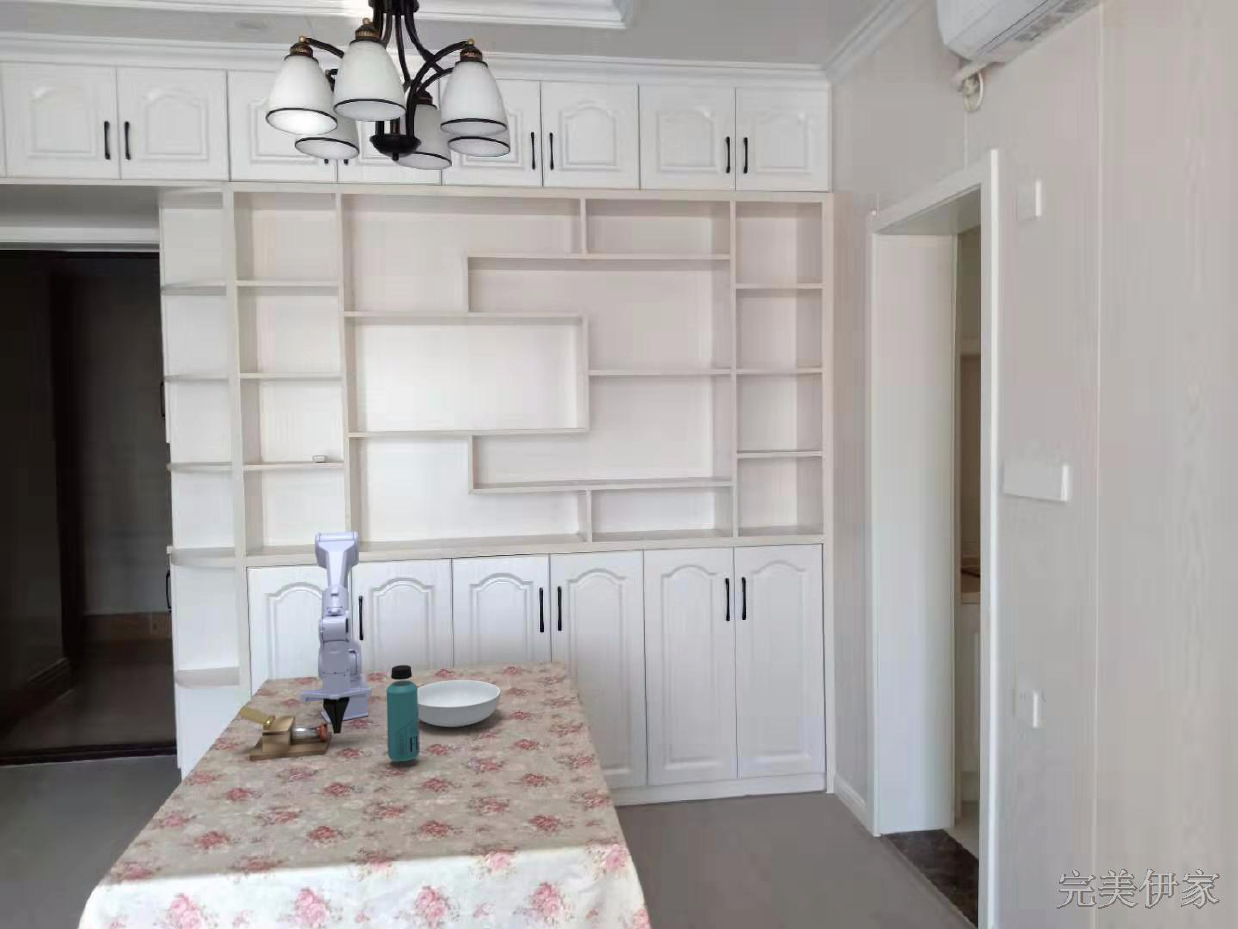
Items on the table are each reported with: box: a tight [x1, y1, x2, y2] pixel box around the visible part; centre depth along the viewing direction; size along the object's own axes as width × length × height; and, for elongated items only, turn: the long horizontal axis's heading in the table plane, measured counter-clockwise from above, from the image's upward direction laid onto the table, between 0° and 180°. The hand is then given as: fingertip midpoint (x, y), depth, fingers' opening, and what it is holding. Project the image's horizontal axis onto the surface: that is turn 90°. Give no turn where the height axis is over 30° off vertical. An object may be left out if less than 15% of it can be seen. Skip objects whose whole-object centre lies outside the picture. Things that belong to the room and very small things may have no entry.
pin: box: [290, 721, 329, 741], centre depth 186 cm, size 10×4×4 cm, turn 101°
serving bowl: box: [417, 679, 501, 728], centre depth 202 cm, size 21×21×7 cm
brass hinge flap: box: [236, 705, 274, 726], centre depth 184 cm, size 7×4×1 cm, turn 101°
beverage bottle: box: [386, 664, 421, 762], centre depth 177 cm, size 6×7×20 cm
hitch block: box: [249, 714, 333, 761], centre depth 186 cm, size 15×11×6 cm
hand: (337, 732), depth 188 cm, fingers closed
